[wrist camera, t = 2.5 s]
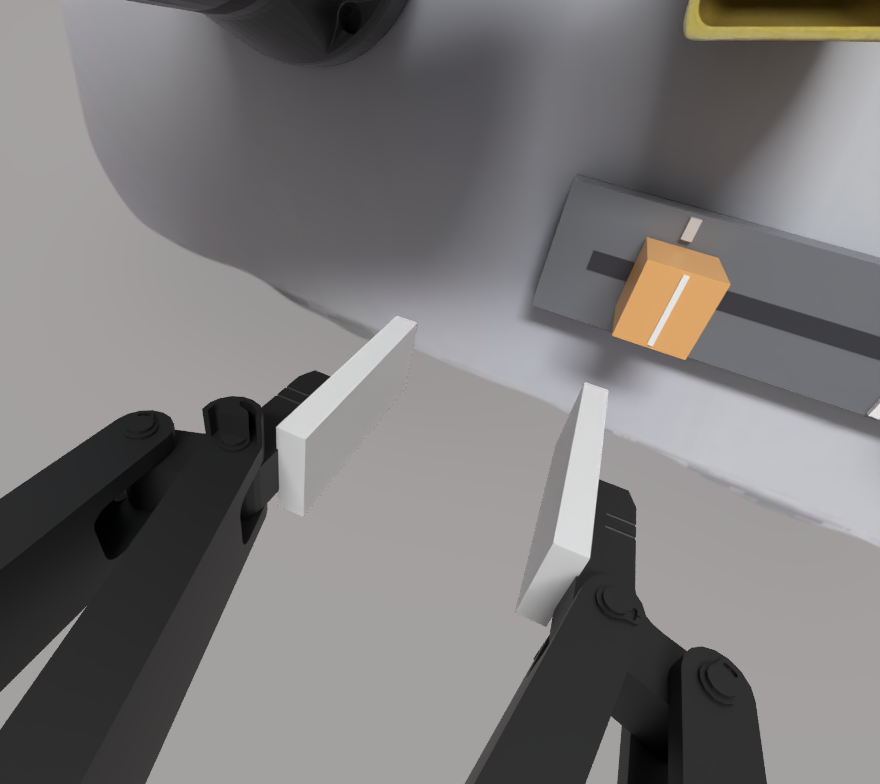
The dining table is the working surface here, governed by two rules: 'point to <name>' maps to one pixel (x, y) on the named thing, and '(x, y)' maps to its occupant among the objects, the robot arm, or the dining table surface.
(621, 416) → the dining table surface
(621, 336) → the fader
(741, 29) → the flower pot
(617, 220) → the slide potentiometer
